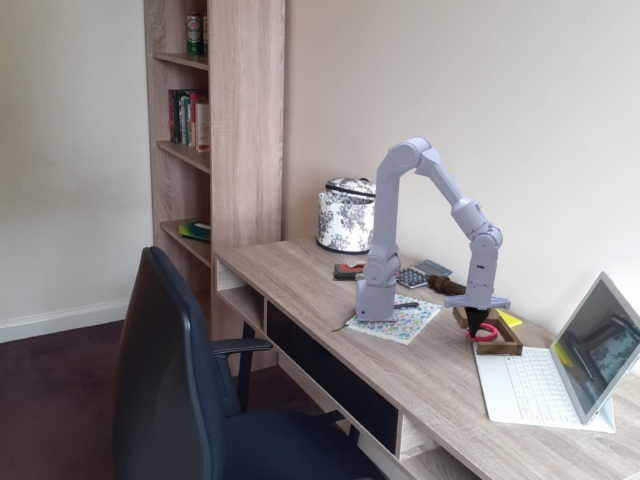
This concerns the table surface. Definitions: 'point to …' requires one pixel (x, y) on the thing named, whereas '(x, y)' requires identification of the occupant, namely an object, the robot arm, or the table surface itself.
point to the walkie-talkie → (352, 271)
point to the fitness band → (485, 338)
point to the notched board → (498, 322)
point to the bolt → (446, 285)
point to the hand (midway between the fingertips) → (471, 335)
